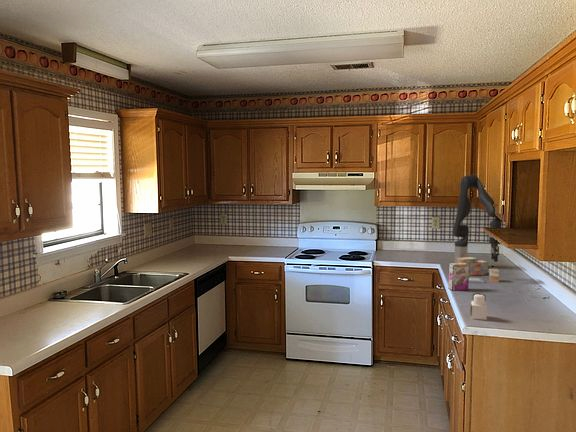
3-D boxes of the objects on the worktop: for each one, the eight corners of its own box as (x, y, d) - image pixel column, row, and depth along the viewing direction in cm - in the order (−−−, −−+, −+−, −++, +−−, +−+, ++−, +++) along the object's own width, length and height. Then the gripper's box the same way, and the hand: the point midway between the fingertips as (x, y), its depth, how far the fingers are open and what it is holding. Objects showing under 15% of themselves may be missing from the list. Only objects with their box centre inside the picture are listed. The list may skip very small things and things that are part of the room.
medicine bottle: (470, 314, 245) (471, 291, 243) (485, 316, 243) (486, 292, 241) (471, 319, 238) (472, 295, 237) (486, 320, 236) (487, 296, 235)
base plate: (463, 278, 328) (463, 276, 327) (481, 279, 325) (481, 277, 325) (465, 282, 316) (465, 280, 316) (484, 283, 313) (485, 281, 313)
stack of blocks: (482, 272, 346) (482, 256, 345) (487, 274, 340) (488, 257, 339) (456, 274, 341) (456, 257, 340) (461, 276, 335) (462, 259, 334)
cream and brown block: (489, 280, 323) (489, 268, 322) (497, 280, 322) (497, 268, 321) (490, 281, 318) (491, 270, 317) (498, 282, 317) (499, 270, 316)
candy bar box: (452, 291, 294) (452, 264, 292) (448, 289, 299) (448, 263, 297) (468, 290, 296) (469, 264, 294) (464, 288, 300) (465, 262, 299)
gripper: (487, 234, 325) (486, 258, 326) (491, 237, 311) (490, 262, 312) (499, 235, 323) (498, 258, 324) (503, 237, 309) (502, 262, 310)
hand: (494, 260), depth 318 cm, fingers open, 8 cm apart
